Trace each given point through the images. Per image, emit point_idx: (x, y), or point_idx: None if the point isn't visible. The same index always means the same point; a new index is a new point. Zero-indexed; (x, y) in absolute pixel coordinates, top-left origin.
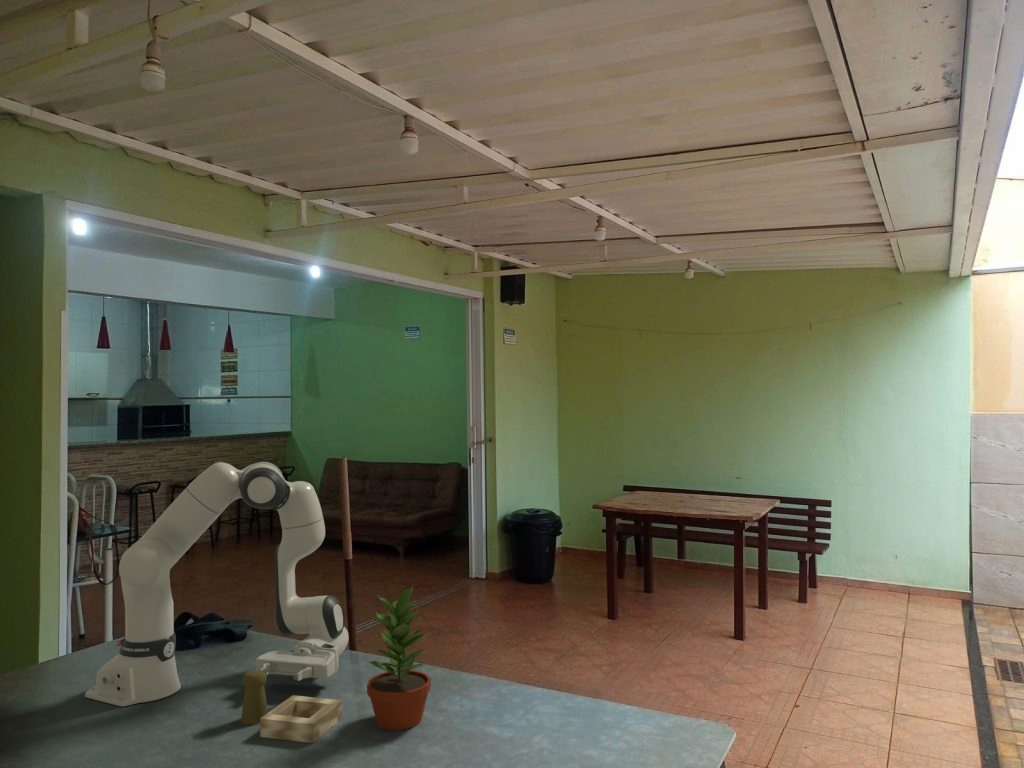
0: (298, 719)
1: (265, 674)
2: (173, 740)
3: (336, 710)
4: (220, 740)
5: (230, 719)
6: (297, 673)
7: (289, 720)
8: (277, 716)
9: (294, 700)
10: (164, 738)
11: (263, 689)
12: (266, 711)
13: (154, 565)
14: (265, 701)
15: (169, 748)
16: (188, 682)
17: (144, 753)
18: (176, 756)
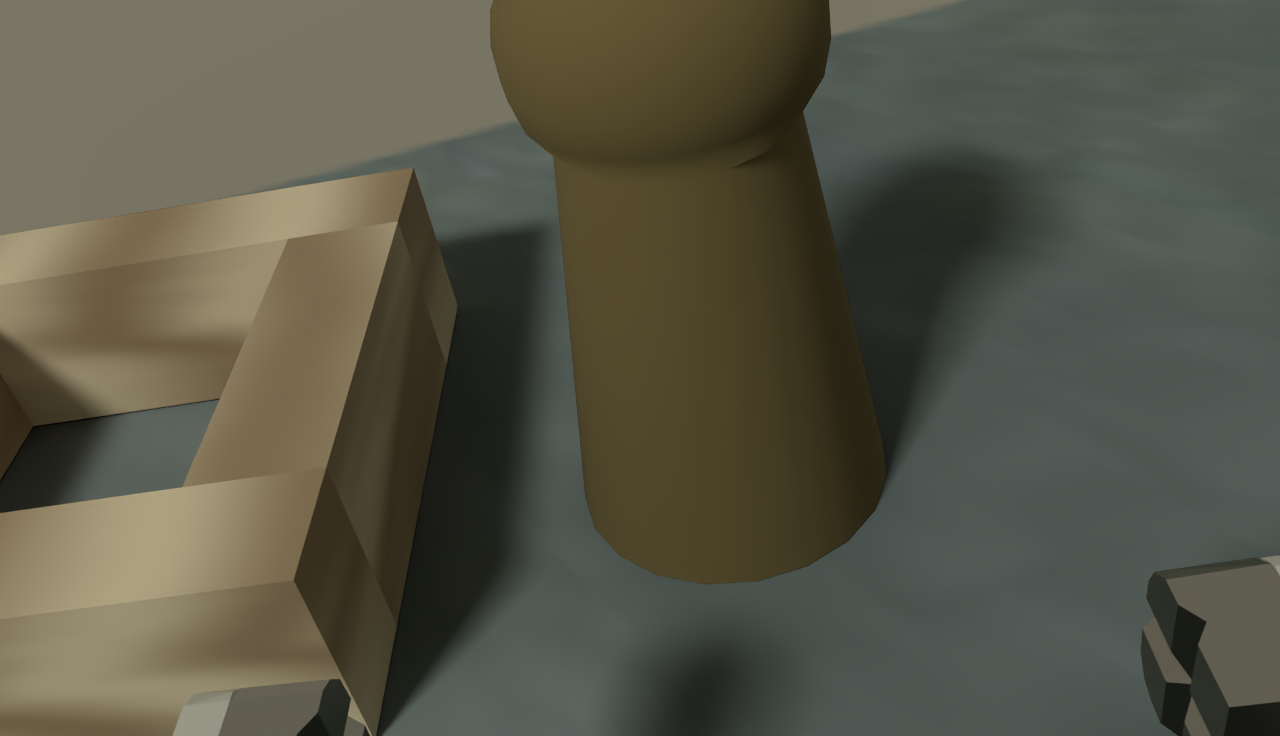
0: (47, 254)
1: (503, 24)
2: (1086, 97)
3: None
4: None
5: (1001, 393)
6: (233, 694)
7: (127, 224)
8: (265, 225)
9: (210, 481)
10: (1187, 87)
11: (558, 194)
12: (581, 436)
13: None
14: (576, 347)
15: (992, 60)
16: None
17: (1079, 3)
18: (848, 48)
